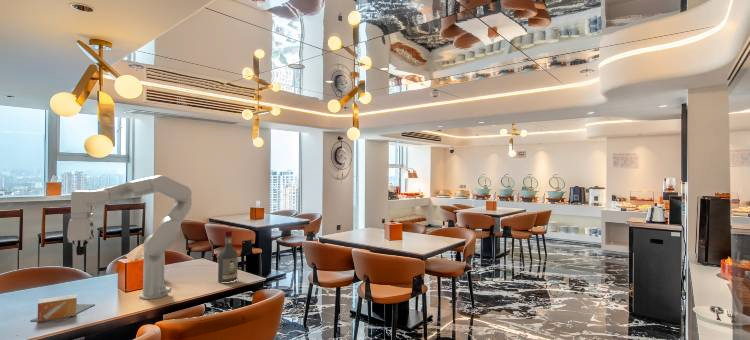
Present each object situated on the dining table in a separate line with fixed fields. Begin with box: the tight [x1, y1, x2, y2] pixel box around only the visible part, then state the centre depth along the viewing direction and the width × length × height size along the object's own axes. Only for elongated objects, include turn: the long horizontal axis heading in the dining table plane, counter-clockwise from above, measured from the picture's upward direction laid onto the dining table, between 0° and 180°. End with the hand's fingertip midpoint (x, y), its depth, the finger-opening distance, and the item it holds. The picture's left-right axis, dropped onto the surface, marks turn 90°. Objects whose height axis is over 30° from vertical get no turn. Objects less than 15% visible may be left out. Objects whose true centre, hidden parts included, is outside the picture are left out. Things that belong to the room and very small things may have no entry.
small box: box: [36, 293, 78, 323], centre depth 166 cm, size 8×6×13 cm
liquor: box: [217, 230, 239, 283], centre depth 224 cm, size 9×9×30 cm
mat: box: [30, 303, 96, 322], centre depth 172 cm, size 13×20×1 cm, turn 1°
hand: (80, 254), depth 180 cm, fingers closed
